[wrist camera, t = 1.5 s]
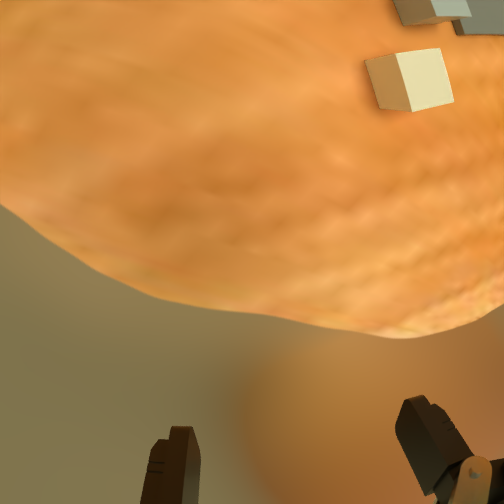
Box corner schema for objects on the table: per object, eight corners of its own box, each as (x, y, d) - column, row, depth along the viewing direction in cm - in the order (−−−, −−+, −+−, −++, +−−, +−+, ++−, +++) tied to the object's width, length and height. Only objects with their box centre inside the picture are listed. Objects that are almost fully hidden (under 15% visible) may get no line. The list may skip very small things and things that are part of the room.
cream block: (364, 60, 24) (395, 53, 19) (404, 53, 24) (439, 47, 18) (379, 108, 26) (412, 111, 21) (418, 98, 26) (454, 102, 21)
